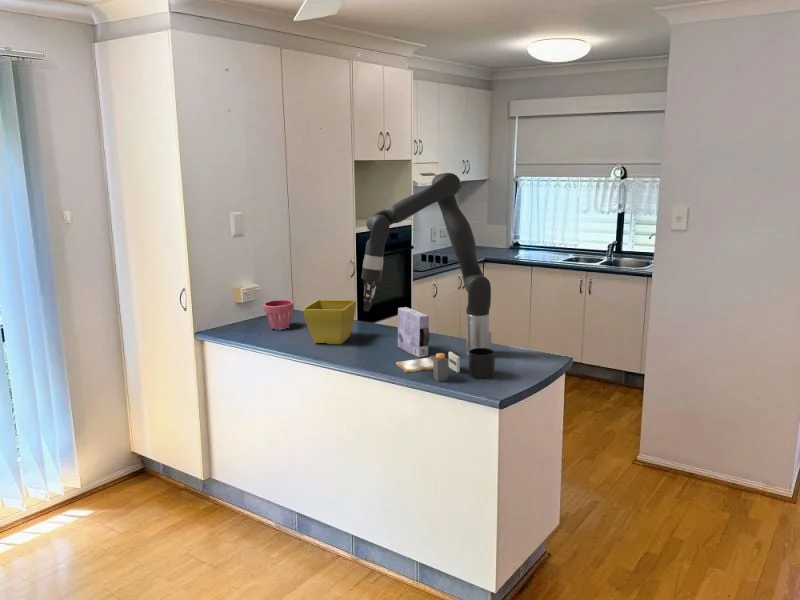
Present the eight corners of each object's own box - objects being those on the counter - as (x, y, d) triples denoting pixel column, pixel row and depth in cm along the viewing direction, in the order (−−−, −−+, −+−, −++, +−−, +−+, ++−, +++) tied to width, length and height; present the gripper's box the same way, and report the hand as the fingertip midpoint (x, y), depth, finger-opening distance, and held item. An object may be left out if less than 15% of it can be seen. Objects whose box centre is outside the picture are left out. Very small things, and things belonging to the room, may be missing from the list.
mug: (503, 371, 244) (503, 348, 242) (485, 380, 235) (485, 356, 233) (481, 367, 250) (481, 344, 248) (464, 375, 241) (463, 352, 239)
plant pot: (276, 333, 309) (274, 307, 306) (259, 328, 319) (257, 303, 316) (300, 327, 319) (299, 301, 316) (283, 323, 329) (281, 298, 326)
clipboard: (433, 358, 263) (433, 354, 262) (445, 367, 252) (445, 362, 251) (396, 364, 258) (395, 359, 257) (406, 372, 246) (406, 368, 246)
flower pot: (304, 345, 288) (302, 308, 284) (319, 334, 306) (317, 299, 302) (345, 347, 283) (343, 309, 279) (358, 335, 301) (356, 300, 297)
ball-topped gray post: (443, 377, 241) (443, 352, 239) (447, 380, 237) (447, 355, 235) (433, 378, 240) (433, 353, 237) (437, 381, 236) (437, 356, 234)
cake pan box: (430, 356, 266) (430, 314, 262) (420, 359, 263) (419, 316, 259) (407, 346, 282) (406, 306, 278) (397, 348, 279) (395, 308, 276)
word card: (451, 366, 252) (450, 351, 251) (459, 372, 245) (459, 357, 244) (448, 366, 252) (448, 352, 251) (457, 372, 245) (456, 357, 243)
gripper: (380, 270, 239) (375, 313, 241) (383, 267, 253) (378, 307, 255) (360, 267, 239) (355, 311, 241) (364, 264, 253) (359, 305, 255)
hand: (367, 309), depth 248 cm, fingers open, 8 cm apart
